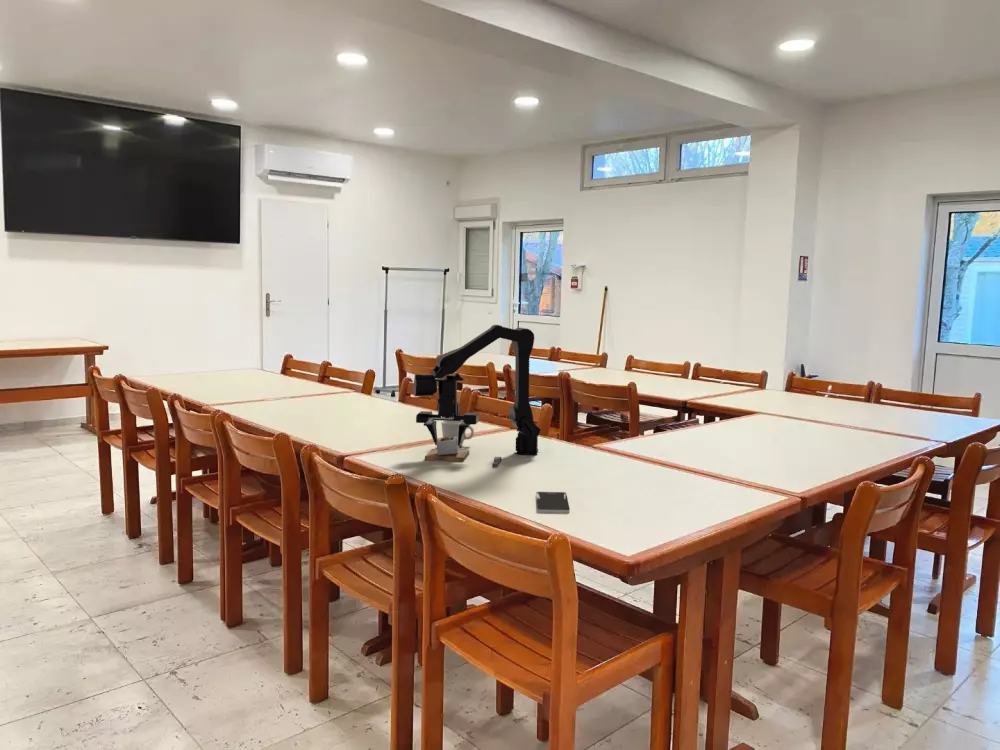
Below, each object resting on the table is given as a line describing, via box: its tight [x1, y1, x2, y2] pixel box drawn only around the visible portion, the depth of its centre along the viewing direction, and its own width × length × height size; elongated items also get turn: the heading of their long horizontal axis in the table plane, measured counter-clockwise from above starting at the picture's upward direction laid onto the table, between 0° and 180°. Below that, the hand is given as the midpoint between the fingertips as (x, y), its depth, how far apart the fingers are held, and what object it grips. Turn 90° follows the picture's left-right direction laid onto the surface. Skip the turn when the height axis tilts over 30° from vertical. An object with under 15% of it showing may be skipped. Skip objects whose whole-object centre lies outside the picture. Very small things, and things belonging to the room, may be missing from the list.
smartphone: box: [535, 490, 571, 514], centre depth 179 cm, size 8×1×15 cm
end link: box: [436, 436, 461, 455], centre depth 226 cm, size 6×6×4 cm
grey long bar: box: [491, 456, 502, 468], centre depth 219 cm, size 2×9×2 cm, turn 173°
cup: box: [441, 421, 475, 447], centre depth 243 cm, size 11×8×8 cm
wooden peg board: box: [424, 437, 470, 462], centre depth 227 cm, size 12×10×6 cm
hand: (447, 445), depth 227 cm, fingers open, 7 cm apart
